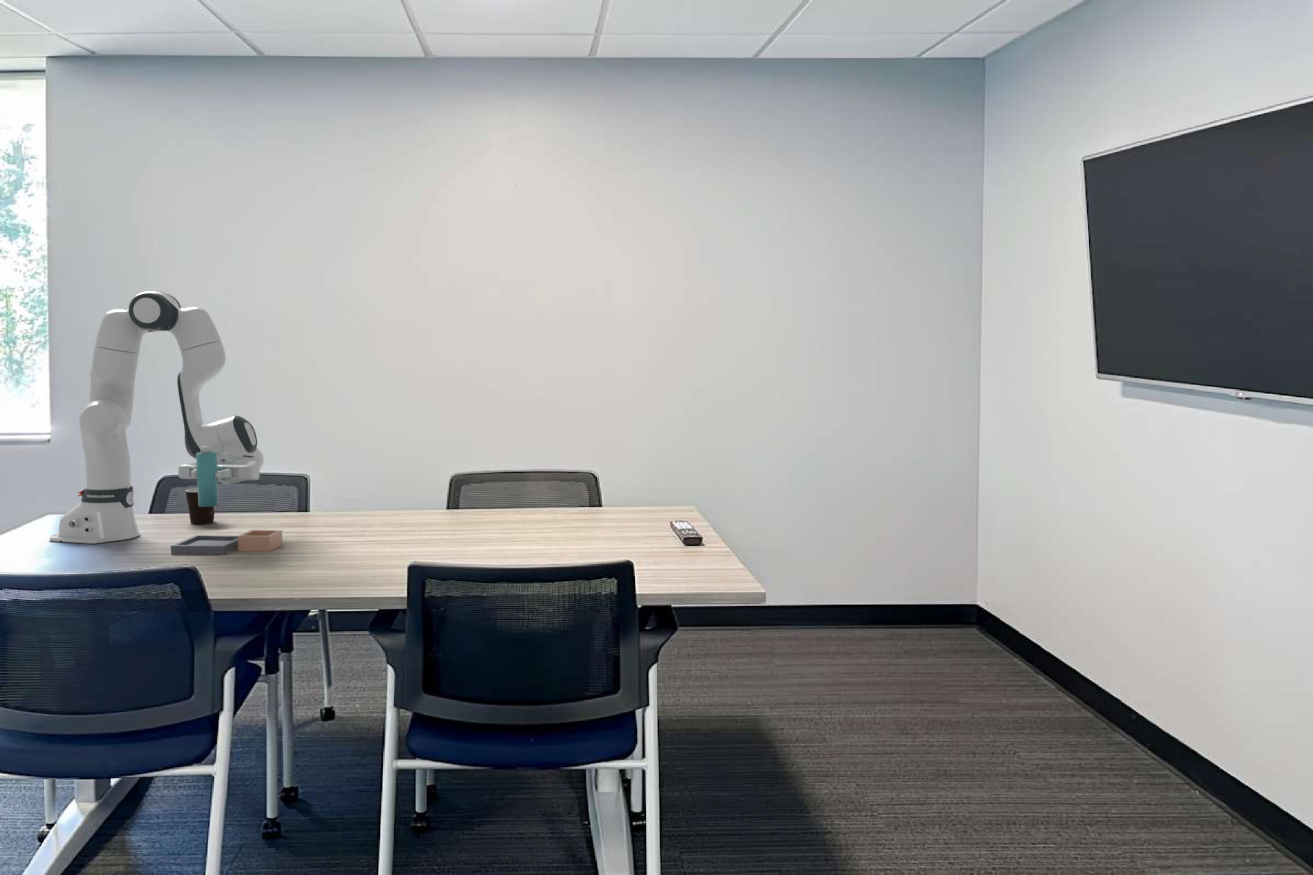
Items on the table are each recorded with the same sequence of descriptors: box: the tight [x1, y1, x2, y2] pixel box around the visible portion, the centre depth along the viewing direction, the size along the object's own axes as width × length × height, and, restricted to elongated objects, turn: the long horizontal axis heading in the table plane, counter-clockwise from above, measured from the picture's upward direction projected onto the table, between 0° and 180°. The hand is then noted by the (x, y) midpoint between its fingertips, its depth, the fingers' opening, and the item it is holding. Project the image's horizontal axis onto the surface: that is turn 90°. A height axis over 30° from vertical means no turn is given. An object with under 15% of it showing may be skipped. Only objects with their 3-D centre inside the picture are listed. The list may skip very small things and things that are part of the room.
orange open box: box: [237, 529, 283, 552], centre depth 284 cm, size 8×8×4 cm
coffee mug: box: [184, 487, 216, 526], centre depth 320 cm, size 12×9×10 cm
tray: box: [170, 534, 239, 555], centre depth 282 cm, size 14×14×2 cm
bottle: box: [195, 446, 220, 507], centre depth 280 cm, size 5×5×16 cm
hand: (205, 475), depth 279 cm, fingers closed on bottle, 5 cm apart
